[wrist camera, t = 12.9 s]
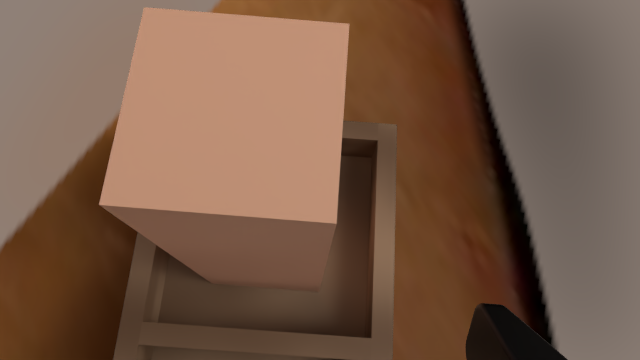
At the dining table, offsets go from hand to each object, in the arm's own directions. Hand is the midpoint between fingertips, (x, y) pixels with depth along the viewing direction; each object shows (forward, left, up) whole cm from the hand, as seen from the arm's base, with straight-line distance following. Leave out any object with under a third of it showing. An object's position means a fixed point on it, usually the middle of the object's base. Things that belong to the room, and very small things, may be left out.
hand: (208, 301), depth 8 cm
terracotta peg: (+4, 0, -13) cm, 13 cm away
